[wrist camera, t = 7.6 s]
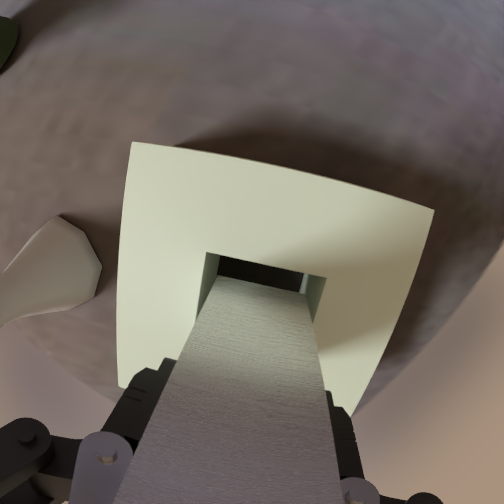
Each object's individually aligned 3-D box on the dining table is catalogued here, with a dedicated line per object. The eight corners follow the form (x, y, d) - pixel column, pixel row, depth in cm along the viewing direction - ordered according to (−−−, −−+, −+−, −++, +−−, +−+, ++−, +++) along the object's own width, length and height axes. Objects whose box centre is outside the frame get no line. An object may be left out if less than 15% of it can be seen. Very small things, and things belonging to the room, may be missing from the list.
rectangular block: (218, 275, 14) (60, 631, 1) (305, 294, 14) (356, 668, 1) (205, 347, 15) (107, 632, 2) (283, 364, 15) (278, 659, 2)
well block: (173, 146, 18) (132, 141, 13) (391, 194, 18) (434, 210, 13) (150, 338, 22) (118, 386, 17) (329, 376, 22) (341, 432, 17)
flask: (119, 266, 21) (32, 335, 12) (76, 321, 23) (4, 390, 13) (57, 197, 20) (-45, 227, 10) (23, 260, 22) (-60, 305, 12)
